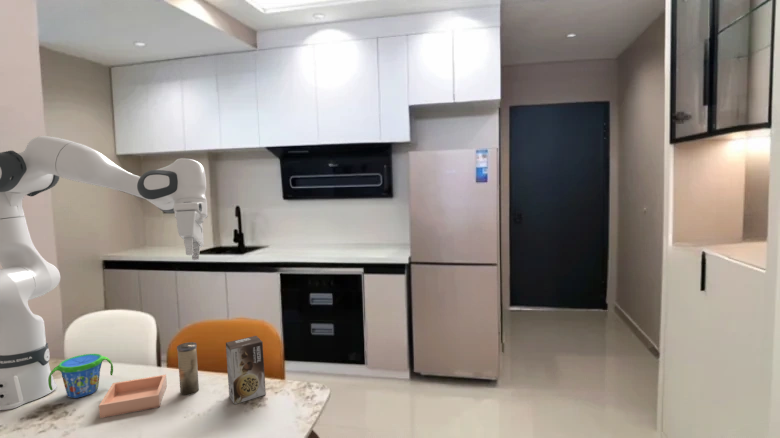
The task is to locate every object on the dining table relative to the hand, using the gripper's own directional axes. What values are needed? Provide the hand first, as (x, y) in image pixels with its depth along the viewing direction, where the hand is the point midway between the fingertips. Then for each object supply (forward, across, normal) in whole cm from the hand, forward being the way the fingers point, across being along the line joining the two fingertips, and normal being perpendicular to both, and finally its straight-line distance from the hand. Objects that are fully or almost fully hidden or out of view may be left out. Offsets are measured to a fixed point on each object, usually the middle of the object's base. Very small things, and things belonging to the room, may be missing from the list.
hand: (192, 257), depth 120 cm
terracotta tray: (+38, -13, -18) cm, 44 cm away
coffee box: (+41, -6, +12) cm, 43 cm away
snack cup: (+34, -24, -35) cm, 54 cm away
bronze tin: (+38, -14, -4) cm, 41 cm away
